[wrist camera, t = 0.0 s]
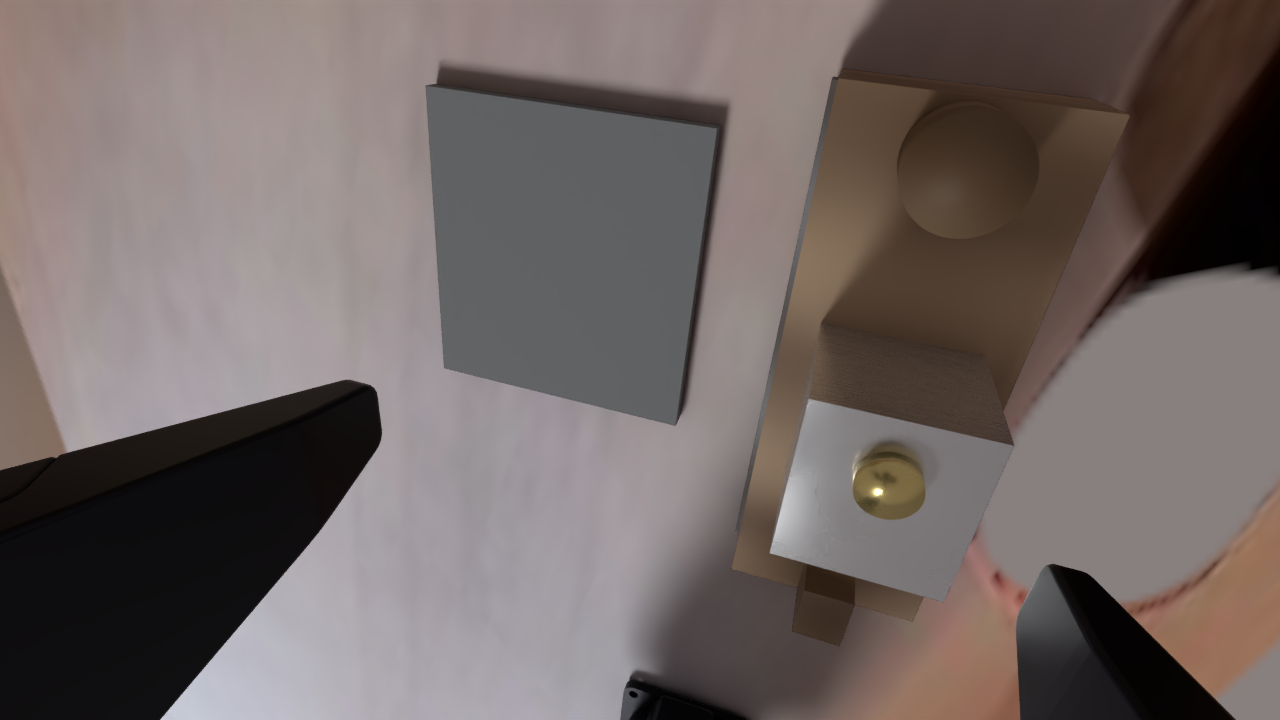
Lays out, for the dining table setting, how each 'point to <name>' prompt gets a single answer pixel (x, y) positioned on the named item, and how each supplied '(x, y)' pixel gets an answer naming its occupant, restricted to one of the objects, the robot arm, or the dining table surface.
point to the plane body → (920, 265)
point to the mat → (569, 245)
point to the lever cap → (891, 460)
